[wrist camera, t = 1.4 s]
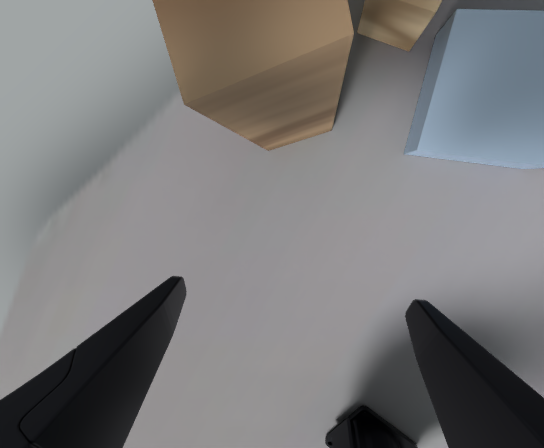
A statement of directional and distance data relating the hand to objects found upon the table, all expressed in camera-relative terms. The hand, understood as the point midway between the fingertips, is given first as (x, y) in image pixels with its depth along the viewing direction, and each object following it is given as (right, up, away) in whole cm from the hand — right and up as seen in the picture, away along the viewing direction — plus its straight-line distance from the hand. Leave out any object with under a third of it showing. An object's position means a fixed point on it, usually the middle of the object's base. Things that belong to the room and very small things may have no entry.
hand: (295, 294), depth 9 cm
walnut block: (+1, +12, +10) cm, 16 cm away
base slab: (+14, +11, +7) cm, 19 cm away
